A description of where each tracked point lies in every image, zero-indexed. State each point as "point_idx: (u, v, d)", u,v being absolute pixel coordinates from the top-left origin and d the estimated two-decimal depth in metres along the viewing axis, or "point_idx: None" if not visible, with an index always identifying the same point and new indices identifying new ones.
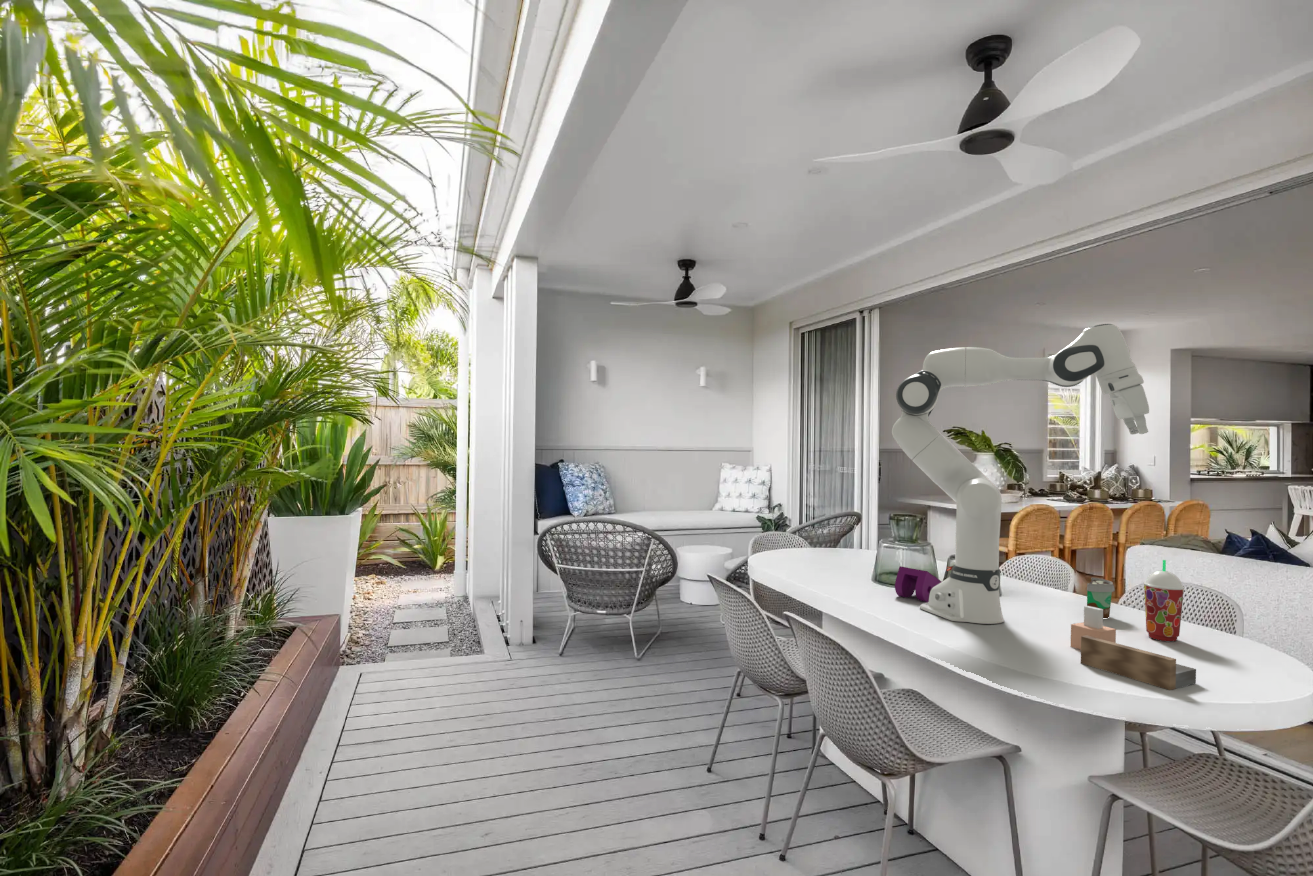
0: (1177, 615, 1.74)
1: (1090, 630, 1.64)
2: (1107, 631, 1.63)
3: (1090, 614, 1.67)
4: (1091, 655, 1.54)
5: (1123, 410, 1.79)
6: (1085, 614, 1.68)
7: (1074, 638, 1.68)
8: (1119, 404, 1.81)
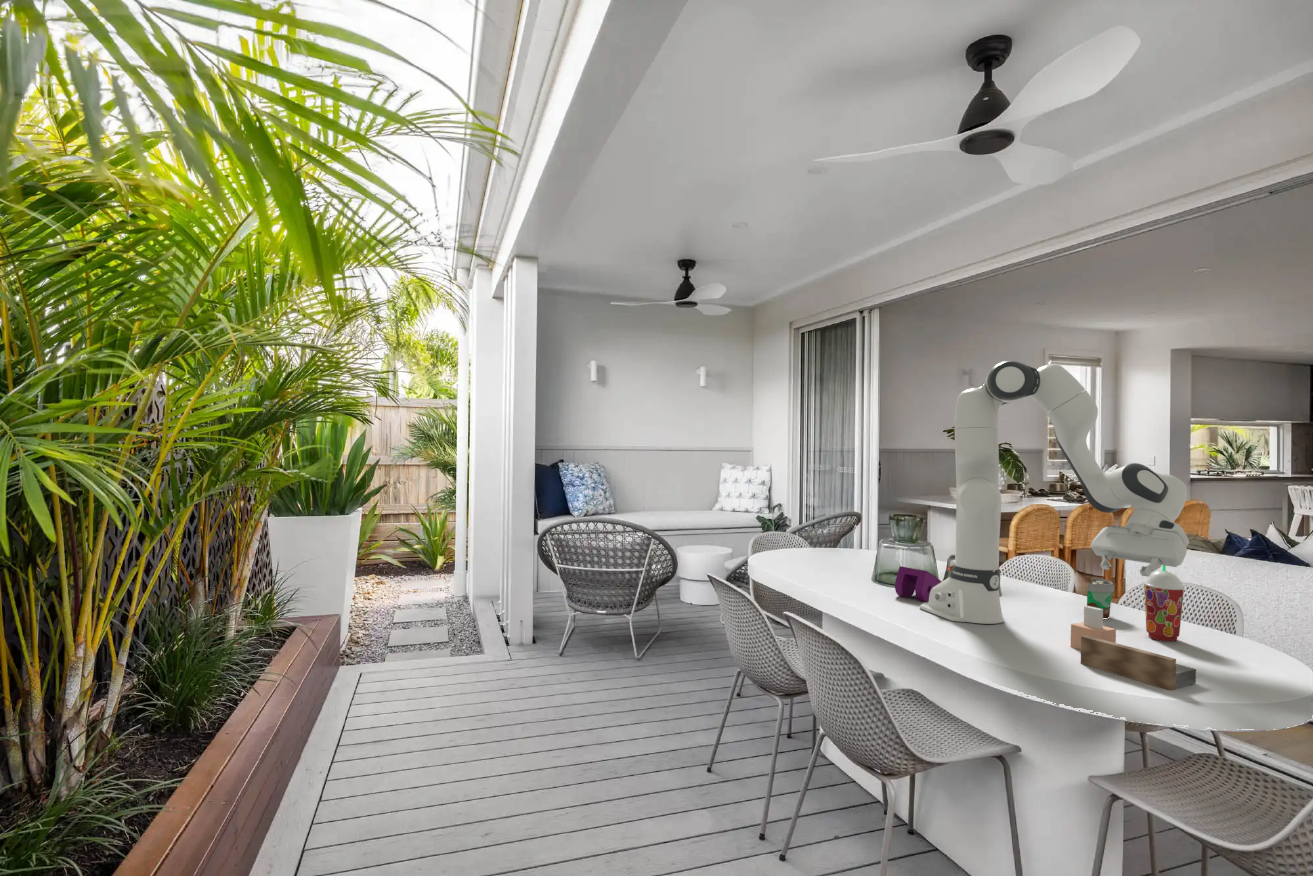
0: (1177, 615, 1.74)
1: (1090, 630, 1.64)
2: (1107, 631, 1.63)
3: (1090, 614, 1.67)
4: (1091, 655, 1.54)
5: (1139, 546, 1.72)
6: (1085, 614, 1.68)
7: (1074, 637, 1.68)
8: (1133, 540, 1.74)
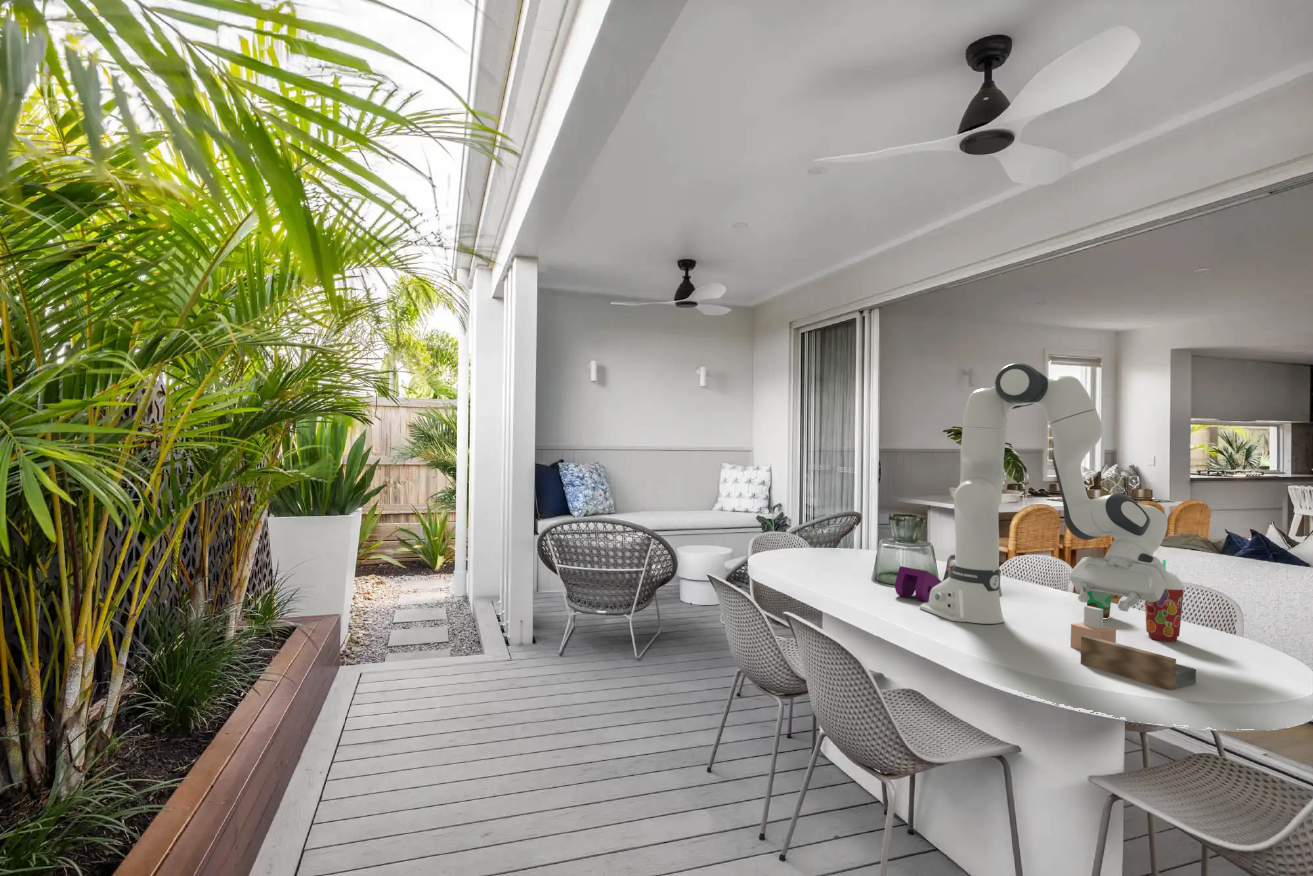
0: (1177, 615, 1.74)
1: (1090, 630, 1.64)
2: (1107, 631, 1.63)
3: (1090, 614, 1.67)
4: (1091, 655, 1.54)
5: (1117, 579, 1.68)
6: (1085, 614, 1.68)
7: (1074, 637, 1.68)
8: (1112, 572, 1.71)
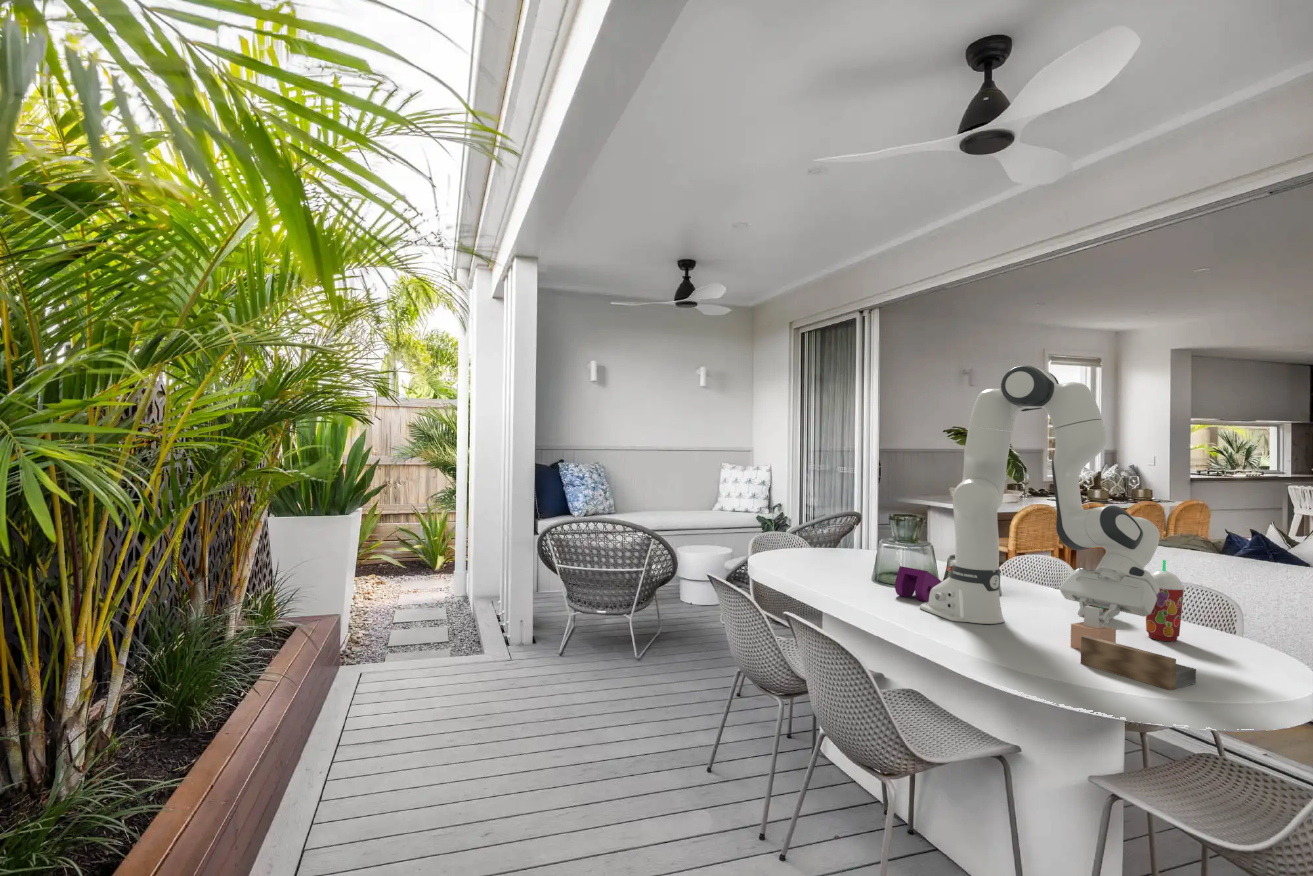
0: (1177, 615, 1.74)
1: (1090, 630, 1.64)
2: (1107, 631, 1.63)
3: (1090, 613, 1.67)
4: (1091, 655, 1.54)
5: (1108, 593, 1.67)
6: (1085, 614, 1.68)
7: (1074, 637, 1.68)
8: (1103, 586, 1.69)
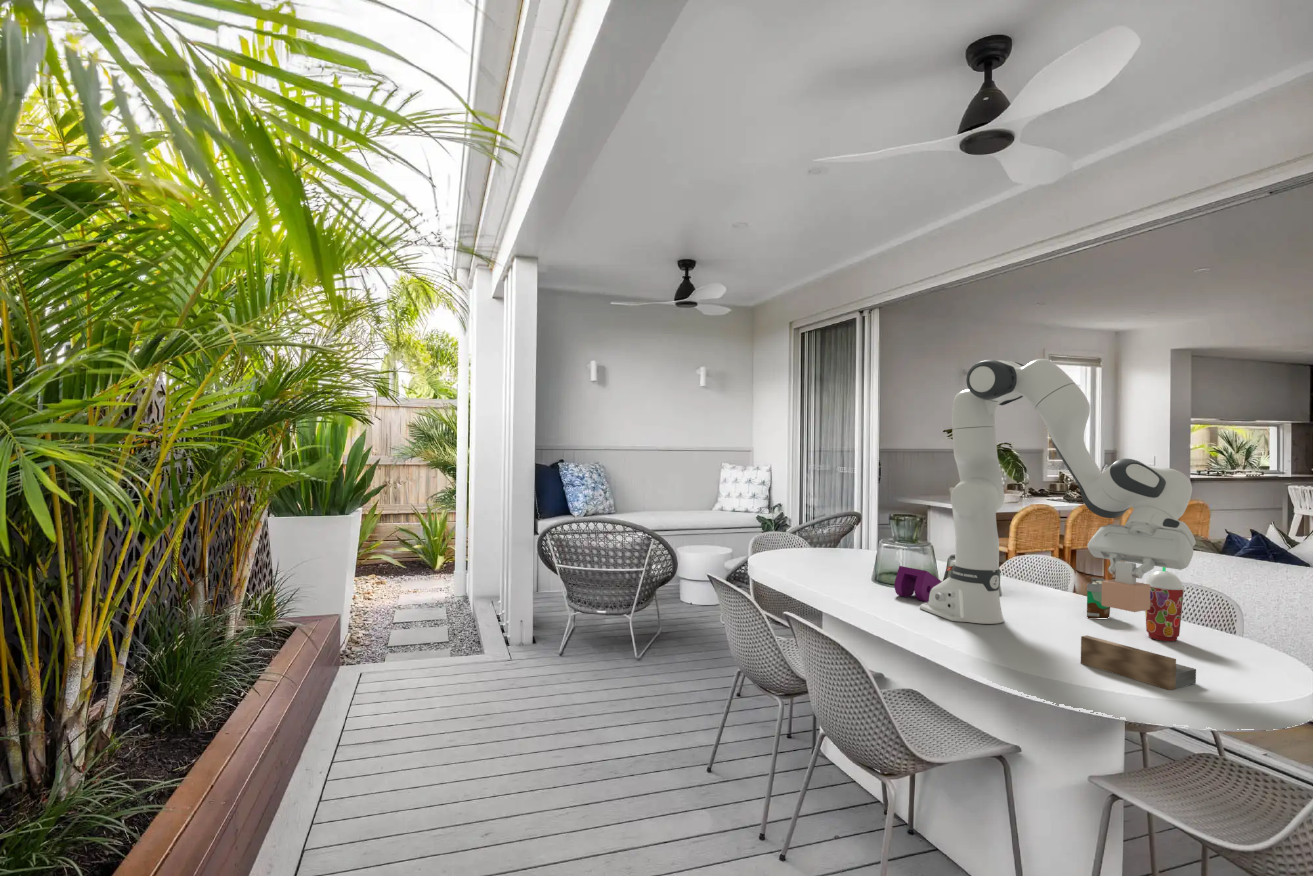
0: (1177, 615, 1.74)
1: (1123, 586, 1.54)
2: (1141, 586, 1.53)
3: (1122, 569, 1.56)
4: (1091, 655, 1.54)
5: (1141, 547, 1.56)
6: (1116, 570, 1.57)
7: (1105, 595, 1.57)
8: (1134, 540, 1.59)
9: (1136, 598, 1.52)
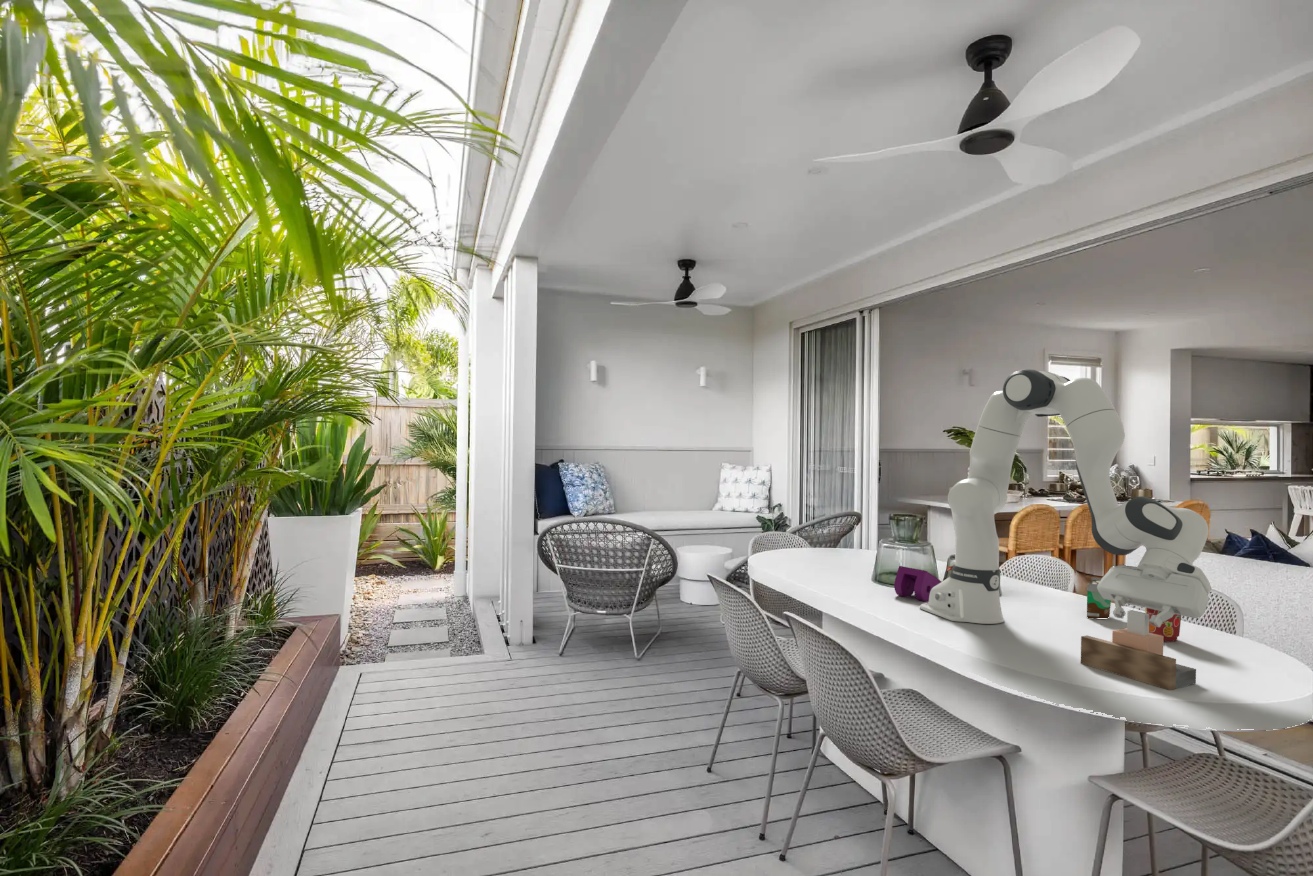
0: (1177, 615, 1.74)
1: (1135, 637, 1.48)
2: (1154, 638, 1.47)
3: (1134, 619, 1.50)
4: (1091, 655, 1.54)
5: (1153, 592, 1.50)
6: (1128, 619, 1.51)
7: None
8: (1147, 584, 1.52)
9: (1148, 650, 1.46)
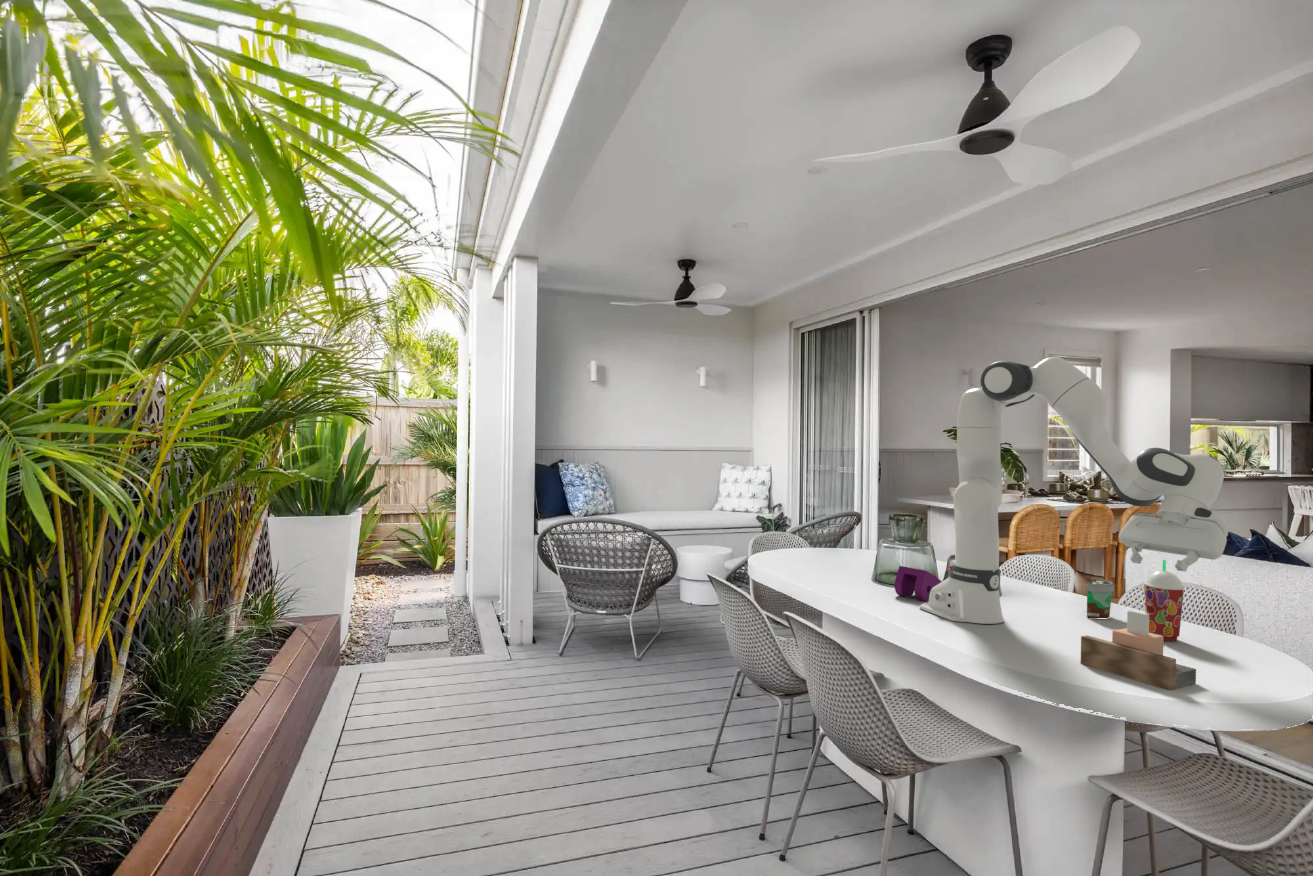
0: (1177, 615, 1.74)
1: (1135, 637, 1.48)
2: (1154, 638, 1.47)
3: (1134, 619, 1.50)
4: (1091, 655, 1.54)
5: (1173, 537, 1.57)
6: (1128, 619, 1.51)
7: None
8: (1166, 530, 1.59)
9: (1148, 650, 1.46)
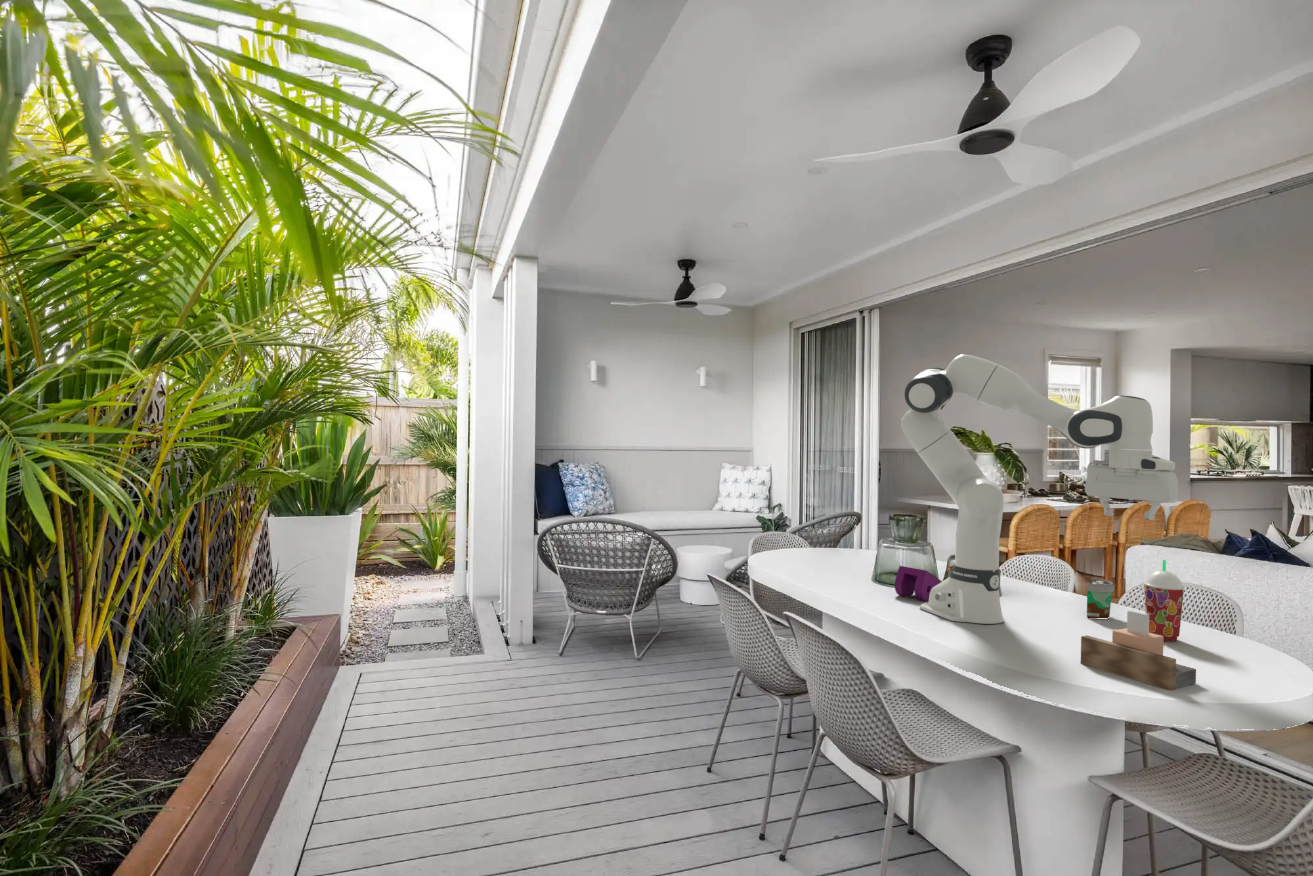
0: (1177, 615, 1.74)
1: (1135, 637, 1.48)
2: (1154, 638, 1.47)
3: (1134, 619, 1.50)
4: (1091, 655, 1.54)
5: (1132, 490, 1.70)
6: (1128, 619, 1.51)
7: None
8: (1123, 482, 1.71)
9: (1148, 650, 1.46)
